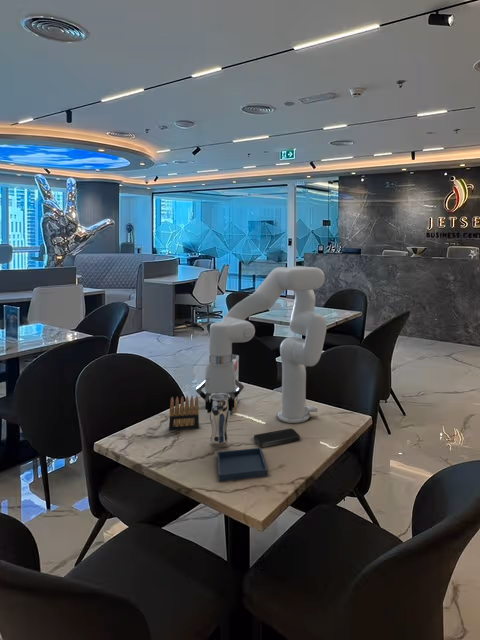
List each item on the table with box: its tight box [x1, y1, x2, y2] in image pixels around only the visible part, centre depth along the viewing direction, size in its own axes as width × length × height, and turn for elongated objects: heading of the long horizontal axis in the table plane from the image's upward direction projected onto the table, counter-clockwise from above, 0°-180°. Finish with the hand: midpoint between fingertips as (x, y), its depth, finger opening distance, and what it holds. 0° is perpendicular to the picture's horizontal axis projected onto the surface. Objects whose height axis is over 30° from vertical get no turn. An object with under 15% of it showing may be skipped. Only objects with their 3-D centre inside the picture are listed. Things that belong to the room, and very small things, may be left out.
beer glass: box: [209, 393, 231, 445], centre depth 150 cm, size 7×7×15 cm
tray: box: [216, 447, 269, 482], centre depth 136 cm, size 14×14×2 cm
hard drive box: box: [215, 354, 240, 414], centre depth 184 cm, size 16×8×20 cm, turn 2°
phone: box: [253, 428, 301, 448], centre depth 155 cm, size 8×1×15 cm
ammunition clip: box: [168, 395, 200, 431], centre depth 162 cm, size 11×2×12 cm, turn 103°
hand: (219, 410), depth 150 cm, fingers closed on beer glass, 7 cm apart
